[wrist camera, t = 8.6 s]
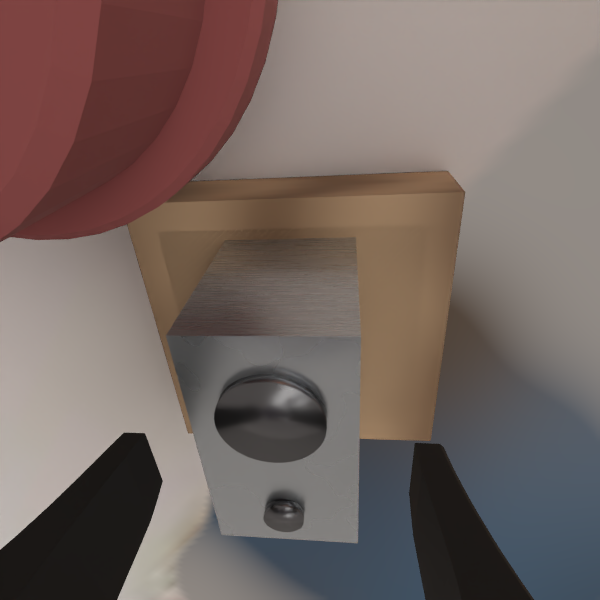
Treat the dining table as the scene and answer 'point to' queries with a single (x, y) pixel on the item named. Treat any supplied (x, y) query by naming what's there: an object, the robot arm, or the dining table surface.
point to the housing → (276, 386)
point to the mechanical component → (117, 104)
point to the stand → (370, 262)
